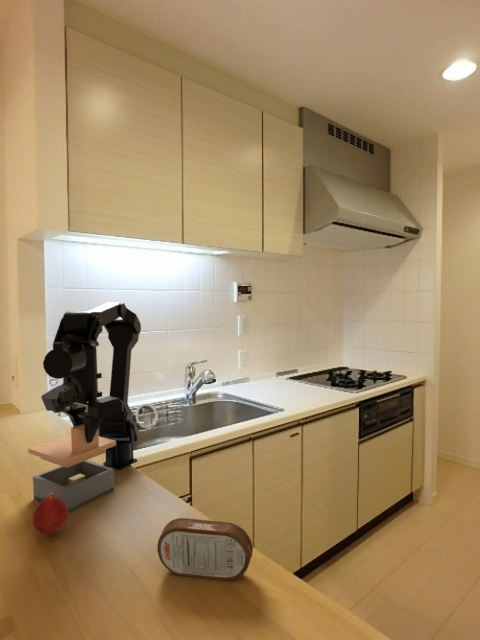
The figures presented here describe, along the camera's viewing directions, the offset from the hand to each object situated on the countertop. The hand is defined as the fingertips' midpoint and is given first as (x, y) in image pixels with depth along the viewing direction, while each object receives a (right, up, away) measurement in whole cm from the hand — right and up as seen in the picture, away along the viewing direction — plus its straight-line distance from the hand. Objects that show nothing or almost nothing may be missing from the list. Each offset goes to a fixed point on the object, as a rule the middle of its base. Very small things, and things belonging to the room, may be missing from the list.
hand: (85, 441), depth 87 cm
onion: (-1, -14, -13) cm, 19 cm away
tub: (-4, -13, +3) cm, 14 cm away
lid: (-4, -4, +3) cm, 6 cm away
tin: (+28, -14, -24) cm, 39 cm away
